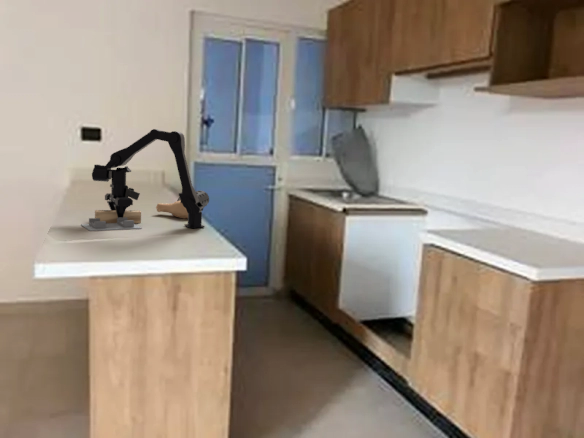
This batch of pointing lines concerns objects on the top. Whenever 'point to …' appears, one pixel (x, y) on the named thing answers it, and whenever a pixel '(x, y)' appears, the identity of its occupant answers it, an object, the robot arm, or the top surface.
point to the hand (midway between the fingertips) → (118, 219)
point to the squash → (173, 209)
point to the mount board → (110, 224)
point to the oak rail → (111, 216)
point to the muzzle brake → (201, 198)
